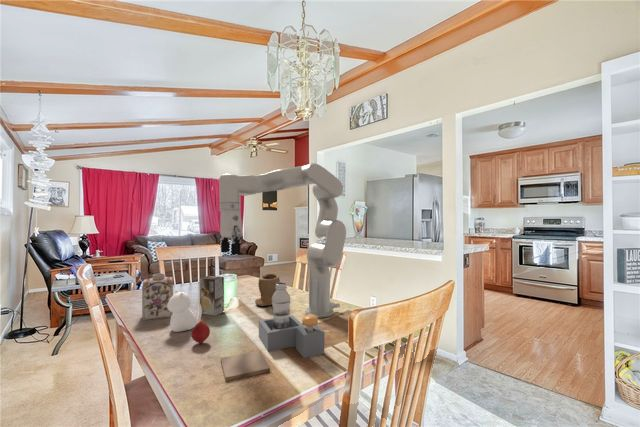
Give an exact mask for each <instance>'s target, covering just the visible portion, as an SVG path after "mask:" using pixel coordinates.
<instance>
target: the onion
mask: <svg viewBox="0 0 640 427" xmlns="http://www.w3.org/2000/svg"><path fill="white" fill-rule="evenodd" d="M210 333H211V330H210V327H209V325H208V324H207V323H205V322H204V320H203V319H200V321H199V322H198V324H196V325H195V326H194V327H193V328H192V329H191V338H192V340H193V341H194V342H196V343H197V344H199V345H200V344H203V343H204V342H205V341H206V340H207V339H208V338H209V336H210Z"/></svg>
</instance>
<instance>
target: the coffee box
mask: <svg viewBox="0 0 640 427" xmlns="http://www.w3.org/2000/svg"><path fill="white" fill-rule="evenodd" d="M224 285H225V277H224V276H217V275H215V276H214V275H206V276H203V277H200V278H199V304H200V305H201V307H202V315H206V316H207V315H208V316H214V317H215V316H218V315H220V314H223V313H224V312H225V286H224ZM223 311H224V312H223ZM222 312H223V313H222Z"/></svg>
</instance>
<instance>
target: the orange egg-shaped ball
mask: <svg viewBox="0 0 640 427" xmlns="http://www.w3.org/2000/svg"><path fill="white" fill-rule="evenodd" d="M301 318H302V320H301V323H302V324H303V325H304V326H307V332H311V331H313V326H315V325H317V326H318V322H319V321H318V319H319V318H318V317H317V316H316V315H306V314H305V315H302V317H301Z"/></svg>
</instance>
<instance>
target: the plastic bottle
mask: <svg viewBox="0 0 640 427" xmlns="http://www.w3.org/2000/svg"><path fill="white" fill-rule="evenodd" d="M287 289H288V286H287V282H281V281H280V282H279V283H276V291H275V293H274V294H273V296H272V305H271V306H272V311H273V312H272V313H273V318H274V319H273V329H272V330H277V329H284V328H290V324H289V316H290V306H291V295H290V293H289V291H287Z"/></svg>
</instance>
